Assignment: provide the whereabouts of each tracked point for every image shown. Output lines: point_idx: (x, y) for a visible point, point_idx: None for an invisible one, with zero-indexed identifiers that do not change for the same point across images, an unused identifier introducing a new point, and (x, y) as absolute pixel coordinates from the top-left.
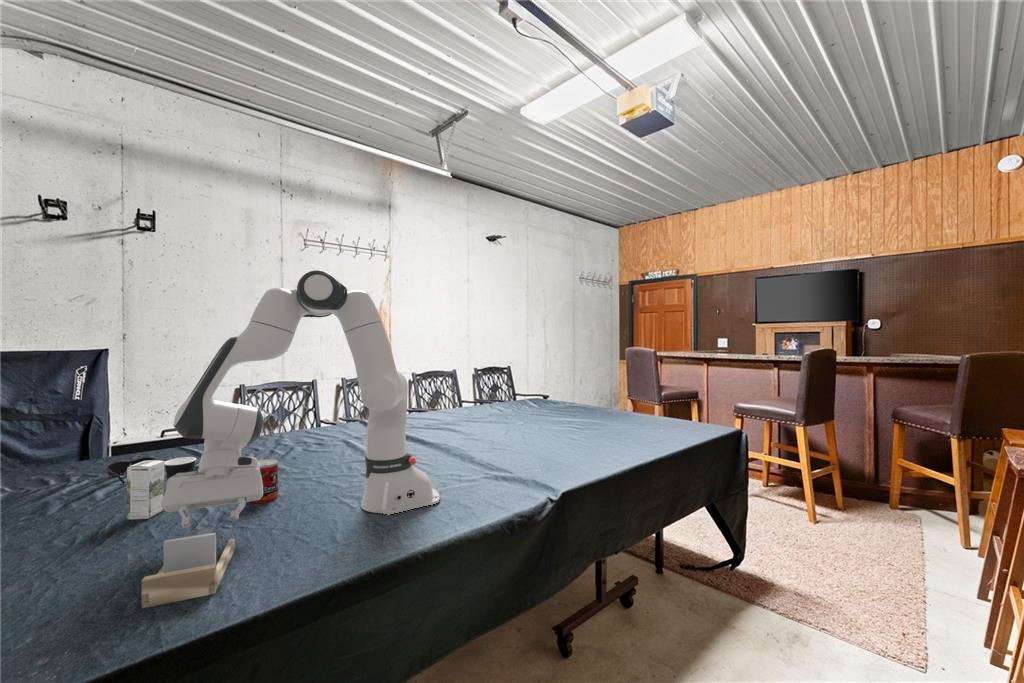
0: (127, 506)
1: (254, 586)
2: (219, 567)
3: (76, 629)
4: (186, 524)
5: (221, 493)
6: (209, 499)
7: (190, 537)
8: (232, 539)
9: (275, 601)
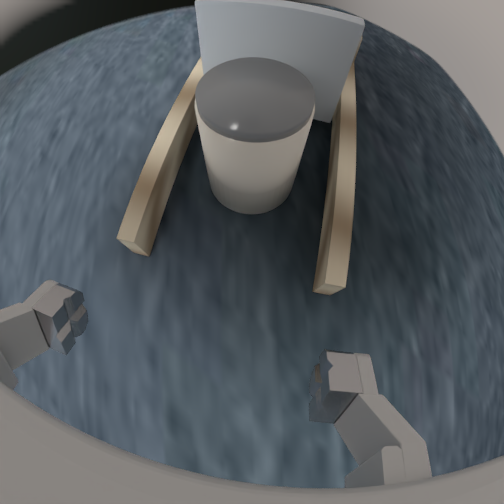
0: None
1: (153, 50)
2: (200, 62)
3: (420, 87)
4: (337, 351)
5: (21, 461)
6: (154, 468)
7: (279, 2)
8: (125, 233)
9: (146, 20)
